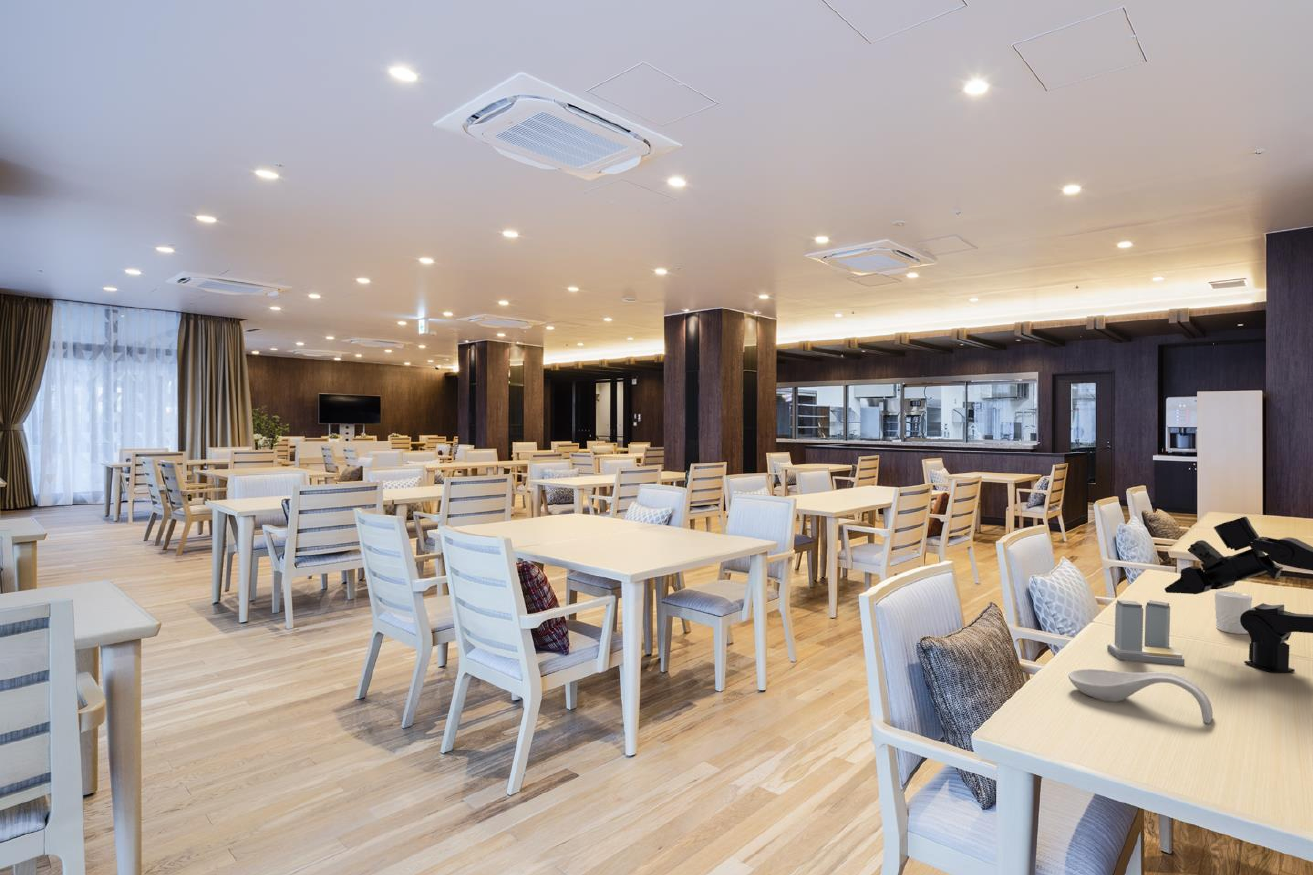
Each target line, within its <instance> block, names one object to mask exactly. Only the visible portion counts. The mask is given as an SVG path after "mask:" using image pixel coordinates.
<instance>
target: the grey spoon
mask: <svg viewBox="0 0 1313 875" xmlns="http://www.w3.org/2000/svg"><path fill="white" fill-rule="evenodd" d="M1068 680H1069V681H1070V683H1072V685H1073V686H1074V687H1075V688H1076V689H1077V690H1078V691H1079V692H1081V693H1082V694H1085V695H1086V696H1089V697H1091V698H1094V699H1096V700H1099V701H1104V702H1112V703H1114V702H1115V703H1116V702H1122V701H1123V700H1124V699H1127V698H1129V697H1130V696H1133V695H1134V694H1135V693H1137V692H1139V691H1141V690H1142V689H1144V688H1147V687H1149V686H1151V685H1154V684H1160V683H1161V684H1162V683H1167V684H1173V685H1175V686H1177V687H1180V688H1182V689H1183V690H1185V691H1187V692H1188V693H1190V694H1191V696H1193V697H1194V699H1195V700H1196V702H1197V703H1198V705H1199V707H1200V712H1201V718H1202V721H1203V723H1205V724H1207V725H1208V724H1211V721H1212V720H1213V717H1214V716H1213V714H1214V713H1213V708H1212V707H1213V706H1212V703H1211V701H1210V699H1209V697H1208V696H1207V694H1206V693H1205V691H1203V690H1202V689H1201V688H1200V687H1199V686H1198V685H1196V684H1194V683H1193V682H1192V681H1190V680H1188V679H1186V678H1183V677H1181V676H1179V675H1177V674H1173V673H1170V672H1156V671H1153V672H1151V671H1149V672H1126V671H1115V670H1105V669H1091V668H1089V669H1088V668H1086V669H1078V670H1077V669H1076V670H1073V671H1071V672H1070V673H1069V674H1068Z"/></svg>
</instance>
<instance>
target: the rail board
mask: <svg viewBox="0 0 1313 875" xmlns="http://www.w3.org/2000/svg"><path fill="white" fill-rule="evenodd" d="M1106 646H1107V648H1106V650H1107V652H1109V653H1110V655H1112V656H1113V655H1114V656H1113V657H1114V658H1115V659H1117V660H1118V661H1131V662H1143V663H1153V664H1164V665H1166V664H1167V665H1179V666H1185V658H1184V657H1183V654H1181V653H1180V652H1178V651H1177V650H1175V649H1173V648H1169V647H1168V648H1155V647H1148V646H1143V645H1142V651H1131V650H1121V649H1120V648H1118V647H1117V646H1116V645H1115V643H1109V644H1107V645H1106Z"/></svg>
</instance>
